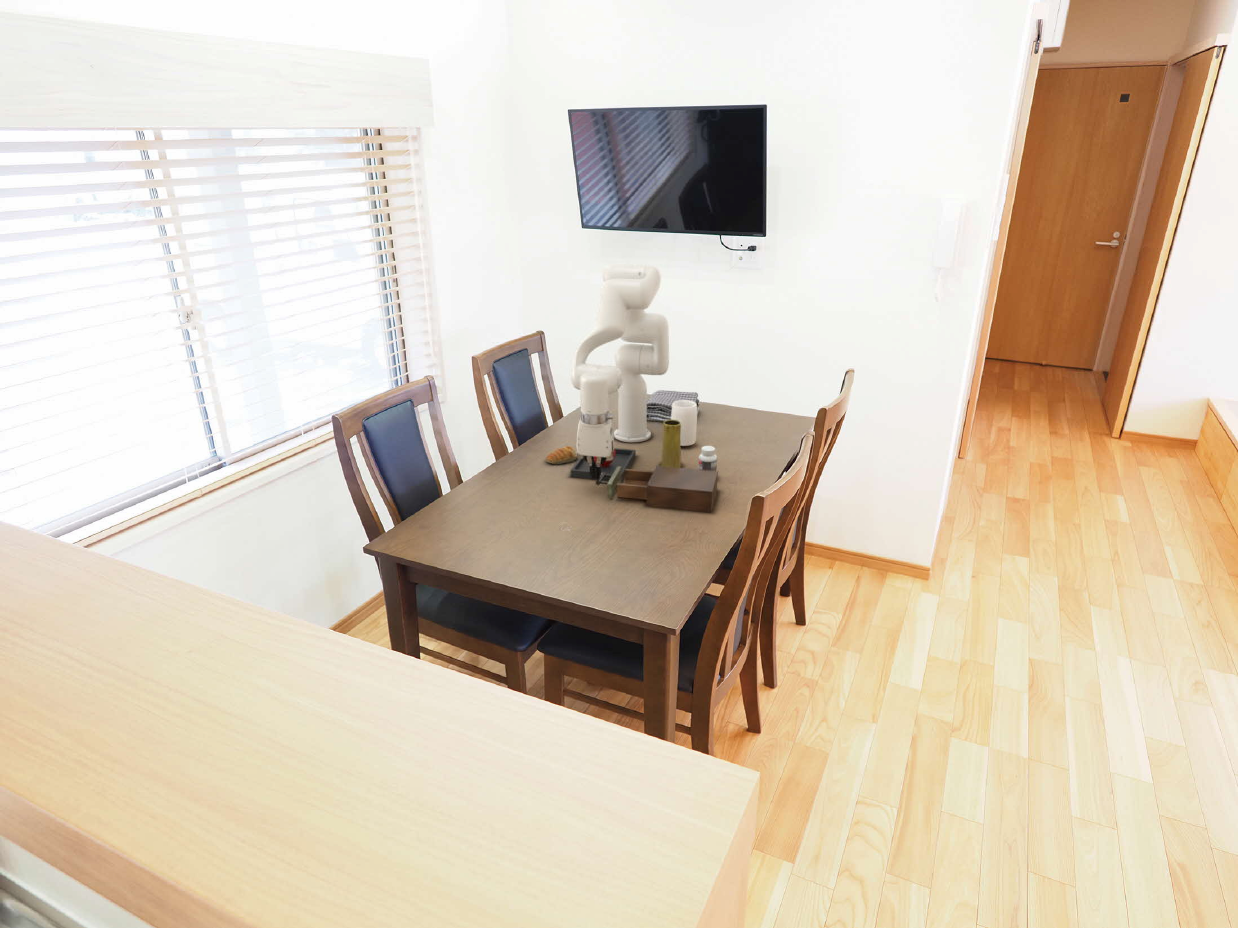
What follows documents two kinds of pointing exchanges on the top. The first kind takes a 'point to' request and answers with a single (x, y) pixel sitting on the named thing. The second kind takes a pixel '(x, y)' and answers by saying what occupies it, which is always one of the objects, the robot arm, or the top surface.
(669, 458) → the vase
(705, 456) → the pill bottle
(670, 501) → the cabinet
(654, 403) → the towel
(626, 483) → the drawer
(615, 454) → the apple
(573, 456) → the pastry
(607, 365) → the robot arm
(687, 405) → the cup
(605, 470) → the tray
